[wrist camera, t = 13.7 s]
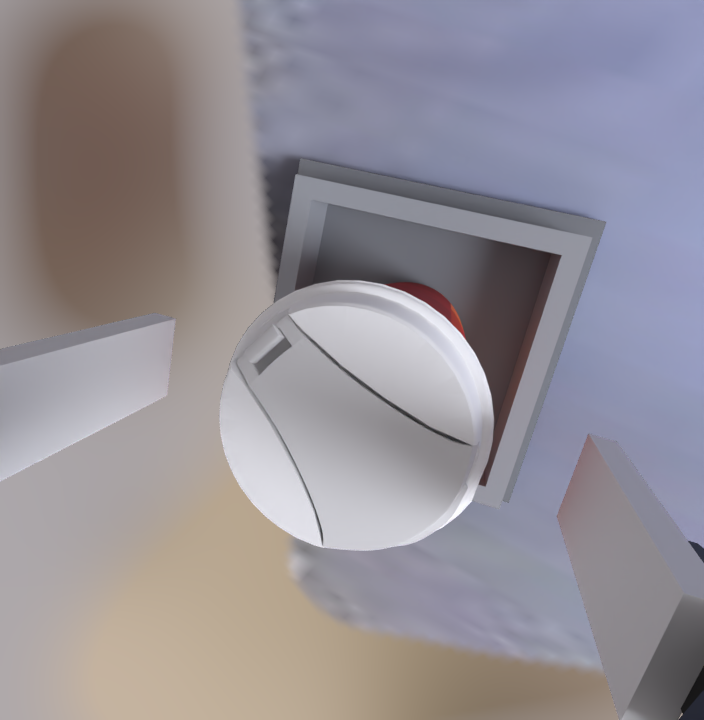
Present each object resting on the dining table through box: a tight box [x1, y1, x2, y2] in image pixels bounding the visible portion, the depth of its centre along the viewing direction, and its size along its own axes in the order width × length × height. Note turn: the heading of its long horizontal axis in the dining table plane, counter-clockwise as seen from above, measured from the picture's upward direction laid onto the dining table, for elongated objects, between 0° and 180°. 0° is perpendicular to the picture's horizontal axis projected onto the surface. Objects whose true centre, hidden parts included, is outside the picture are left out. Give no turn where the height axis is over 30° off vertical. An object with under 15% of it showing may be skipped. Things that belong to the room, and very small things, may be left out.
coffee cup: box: [219, 280, 494, 551], centre depth 20 cm, size 8×8×15 cm
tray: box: [274, 158, 606, 509], centre depth 27 cm, size 16×16×4 cm
